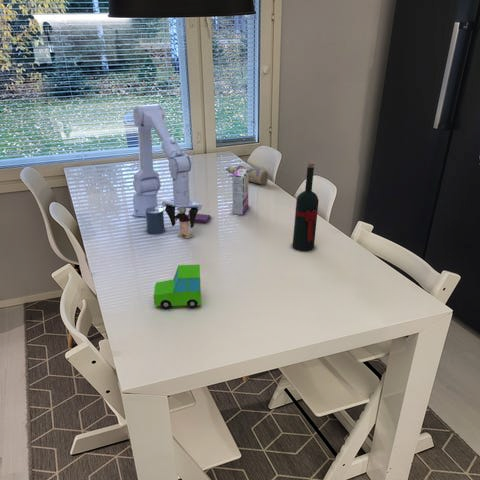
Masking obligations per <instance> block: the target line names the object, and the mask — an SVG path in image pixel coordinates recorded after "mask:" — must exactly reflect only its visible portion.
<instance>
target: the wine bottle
mask: <svg viewBox="0 0 480 480" xmlns="http://www.w3.org/2000/svg"><path fill="white" fill-rule="evenodd" d="M314 169H315V164H314V162H308V163H307V167H306V177H305V178H306V179H305V188H304V189H305V190H304V191H302V192H300V193H299V194H298V195H297V197H296V201H295V202H296V203H295V204H296V205H295V214H294V225H293V236H292V249H294V250H296V251H299V252H311V251H313V250H314V249H315V241H316V231H317V221H318V211H319V202H320V201H319V200H320V199H319V197H318V195H317V194H316V192H314V191H313V181H314V171H315V170H314Z"/></svg>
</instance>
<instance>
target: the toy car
mask: <svg viewBox="0 0 480 480" xmlns="http://www.w3.org/2000/svg"><path fill="white" fill-rule="evenodd" d="M201 292H202V291H201V264H178V265H177V268H176V271H175V274H174V276H173V279H168V280H163V281H157V282H155V284H154V292H153V300H154V302H153V303H154V306H155V307H161V308H162V309H163V310H169V309H170V308H171V307H176V306H177V307H179V306H187V307H188V308H189V309H196V308H197V307H198V306H201V305H202V293H201Z"/></svg>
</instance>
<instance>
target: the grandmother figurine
mask: <svg viewBox="0 0 480 480" xmlns="http://www.w3.org/2000/svg"><path fill="white" fill-rule="evenodd" d="M176 210H177V213H176V214H175V221H176V222H178V221H179V232H180V235H179V237H180V238H183V237H184V239H190V238H192V234H190V232H189V227H190V226H191V224H190V219H189V218H188V214H186V212H187V208H186V207H181V208H178V207H177V208H176Z"/></svg>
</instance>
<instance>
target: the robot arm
mask: <svg viewBox="0 0 480 480" xmlns="http://www.w3.org/2000/svg"><path fill="white" fill-rule="evenodd" d="M132 114H133V124H134V125H133V126H134V127H135V128H137V138H138V155H139V169H138V170H137V171H136V172H135V173H134V174H133V182H132V186H133V190H134V191H135V192H134V194H133V197H132V205H133V213H134V214H133V216H134V217H145V218H146V209H147V208H151V207H159V206H158V204H159V203H158V193H159V191H160V190H161V186H162V185H161V183H162V182H161V179H160V174H159V172H157V171H156V170H155V169H154V160H153V142H152V141H153V140H152V130H154V132H155V134H156V135H157V136H158V138H159V140H160V141H161V146H160V147H161V149H162V151H163V153H164V155H165V157H166V159H167V161H168V163H167V164H168V170H169V173H170V178H171V179H172V195H173V199H162V201H161V207H163V208H164V207H165V208H164V211H165V213H166V214H167V216H168V218H169V220H170V224H171V226H172V227H174V226H176V222H177V221H175V216H176V208H177V209H178V208H181V207H186V209H189V210H188V214H189V215H190V224H191V226H189V227H190V228H189V229H193V228H194V227H195V223H194V221H195V217H196V215H197V214H198V212H199V211H200V210H202V206H203V205H202V203H201V202H196V201H192V200H190V182H189V180H190V179H189V172H190V171H191V170H192V161H191V159H190V156H189V155H188V154H186V153H185V152H183V151H182V149H181V147H180V145H179V143H178V142H177V140H176V138H174V137H172V136H171V134H170V132H169V130H168V127H167V124H166V122H165V118H166V117H165V110H164V108H163V106H162V105H161V104H160V103H156V104H147V105H135V106H134V108H133V110H132Z"/></svg>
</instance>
